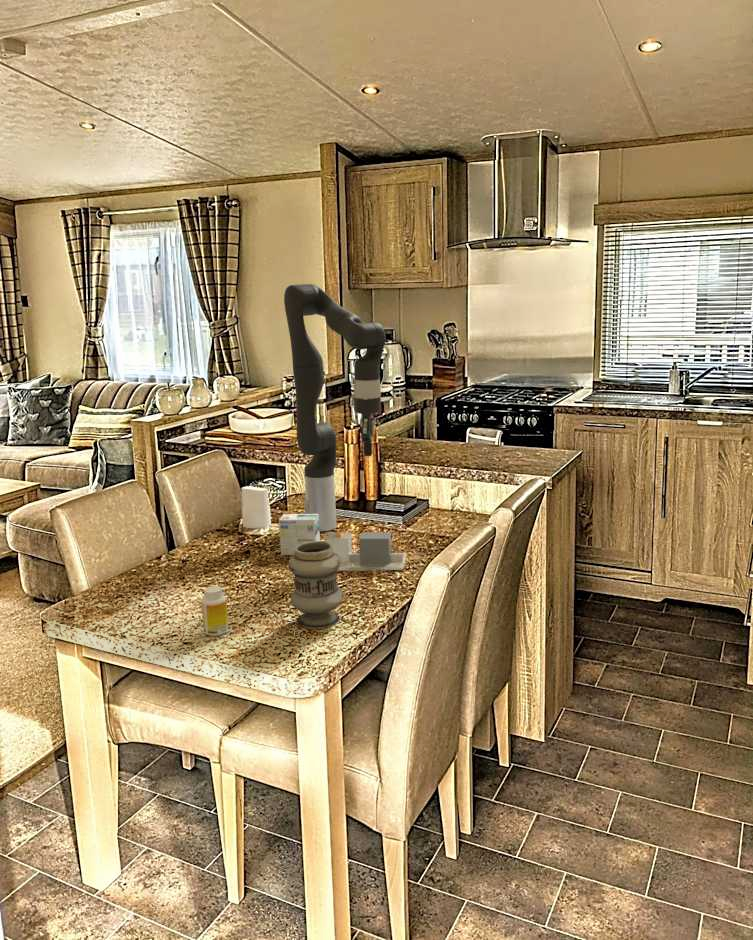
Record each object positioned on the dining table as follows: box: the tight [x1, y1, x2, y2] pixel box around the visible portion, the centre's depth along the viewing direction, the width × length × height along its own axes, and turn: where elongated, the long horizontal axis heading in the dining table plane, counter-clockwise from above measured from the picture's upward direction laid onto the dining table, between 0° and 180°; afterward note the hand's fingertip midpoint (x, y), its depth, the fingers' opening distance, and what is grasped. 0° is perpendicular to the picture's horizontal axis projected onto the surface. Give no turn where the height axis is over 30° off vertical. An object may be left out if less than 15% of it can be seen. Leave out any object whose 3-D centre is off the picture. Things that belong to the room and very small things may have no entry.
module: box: [358, 531, 392, 564], centre depth 233 cm, size 8×6×7 cm
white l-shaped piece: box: [325, 531, 407, 572], centre depth 233 cm, size 22×12×9 cm, turn 84°
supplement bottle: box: [200, 585, 230, 637], centre depth 191 cm, size 6×6×10 cm
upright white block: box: [241, 485, 272, 529], centre depth 274 cm, size 9×9×12 cm
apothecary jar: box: [288, 540, 344, 630], centre depth 194 cm, size 12×12×18 cm
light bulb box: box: [278, 513, 321, 556], centre depth 245 cm, size 11×7×11 cm, turn 84°
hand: (368, 455), depth 242 cm, fingers closed
